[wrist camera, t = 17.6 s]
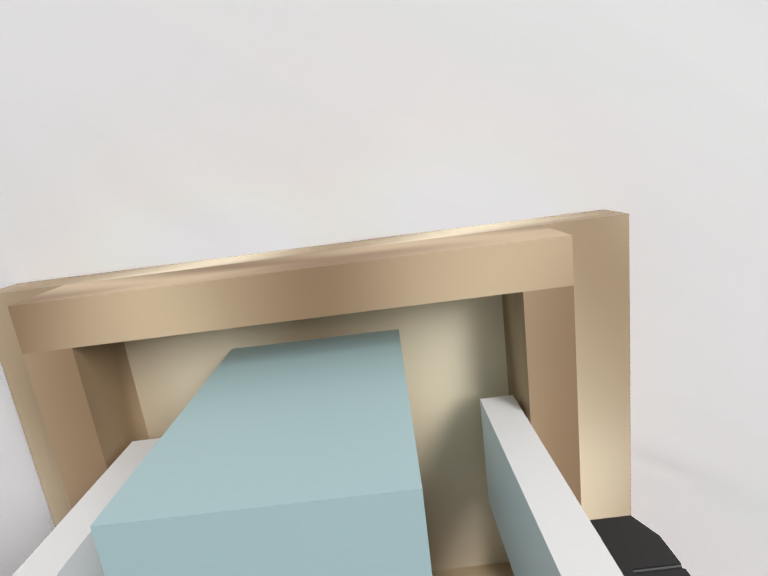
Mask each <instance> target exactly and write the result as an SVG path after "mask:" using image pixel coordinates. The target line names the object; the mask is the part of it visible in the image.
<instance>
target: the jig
mask: <svg viewBox="0 0 768 576" xmlns="http://www.w3.org/2000/svg"><path fill="white" fill-rule="evenodd" d="M396 329H399V335H400V342H401V348H402V355H403V362H404V368H405V375H406V382H407V389H408V395H409V402H410V409H411V415H412V422H413V429H414V436H415V442H416V449H417V456H418V462H419V469H420V476H421V483H422V490H423V498H424V507H425V516H426V525H427V534H428V542H429V551H430V560H431V569H432V576H514V573H513V571H512V568H511V565H510V562H509V559H508V556H507V553H506V550H505V547H504V544H503V541H502V539H501V536H500V533H499V530H498V527H497V524H496V521H495V518H494V515H493V512H492V509H491V507H490V504H489V499H488V487H487V475H486V464H485V452H484V440H483V428H482V417H481V405H480V399H483V398H492V397H500V396H508V395H513V396H514V398H515V399H516V401H517V403H518V404H519V406H520V407H521V409H522V411H523V412H524V414H525V416H526V417H527V419H528V421H529V422H530V424H531V425H532V427H533V429H534V430H535V432H536V434H537V435H538V437H539V438H540V440H541V442H542V443H543V445H544V447H545V448H546V450H547V451H548V453H549V455H550V456H551V458H552V460H553V461H554V463H555V465H556V466H557V468H558V469H559V471H560V473H561V474H562V476H563V478H564V479H565V481H566V482H567V484H568V486H569V487H570V489H571V491H572V492H573V494H574V495H575V497H576V499H577V500H578V502H579V504H580V505H581V507H582V509H583V510H584V512H585V513H586V515H587V517H588V518H589V520H594V519H602V518H611V517H619V516H628V515H631V451H630V296H629V214H627V213H621V212H615V211H610V210H598V211H590V212H583V213H575V214H567V215H559V216H551V217H543V218H535V219H527V220H519V221H511V222H503V223H495V224H488V225H480V226H472V227H464V228H456V229H448V230H440V231H432V232H424V233H416V234H408V235H400V236H393V237H385V238H377V239H369V240H361V241H353V242H345V243H337V244H329V245H321V246H313V247H305V248H298V249H290V250H282V251H274V252H266V253H258V254H250V255H242V256H234V257H226V258H218V259H210V260H202V261H195V262H187V263H179V264H171V265H163V266H155V267H147V268H139V269H131V270H123V271H115V272H107V273H100V274H92V275H84V276H76V277H68V278H60V279H52V280H44V281H36V282H28V283H20V284H15V285H11V286H8V287H5V288H2V289H0V361H1V365H2V368H3V371H4V374H5V377H6V380H7V383H8V386H9V389H10V392H11V395H12V398H13V401H14V404H15V407H16V410H17V413H18V416H19V419H20V422H21V425H22V428H23V431H24V434H25V437H26V440H27V443H28V446H29V449H30V452H31V455H32V459H33V462H34V465H35V468H36V471H37V474H38V477H39V480H40V483H41V486H42V489H43V492H44V495H45V498H46V501H47V504H48V507H49V510H50V513H51V516H52V519H53V522H54V525H55V527H56V526H57V525H58V524H59V523H60V522H61V521H62V519H63V518H64V517H65V516H66V515H67V514H68V513H69V512H70V511H71V509H72V508H73V507H74V506H75V505H76V504H77V503H78V502H79V500H80V499H81V498H82V497H83V496H84V495H85V494H86V493H87V492H88V490H89V489H90V488H91V487H92V486H93V485H94V484H95V483H96V481H97V480H98V479H99V478H100V477H101V476H102V475H103V474H104V473H105V471H106V470H107V469H108V468H109V467H110V466H111V465H112V464H113V462H114V461H115V460H116V459H117V458H118V457H119V456H120V455H121V454H122V452H123V451H124V450H125V449H126V448H127V447H128V446H129V445H130V444H131V442H132V441H140V440H148V439H156V438H161V437H162V436H163V435H164V433H165V432H166V431H167V430H168V428H169V427H170V426H171V425H172V423H173V422H174V421H175V420H176V418H177V417H178V416H179V415H180V413H181V412H182V411H183V410H184V408H185V407H186V406H187V405H188V403H189V402H190V401H191V400H192V398H193V397H194V396H195V395H196V393H197V392H198V391H199V390H200V388H201V387H202V386H203V385H204V383H205V382H206V381H207V380H208V378H209V377H210V376H211V375H212V373H213V372H214V371H215V370H216V368H217V367H218V366H219V365H220V363H221V362H222V361H223V360H224V358H225V357H226V356H227V355H228V353H229V352H230V351H231V350H232V349H235V348H243V347H251V346H260V345H268V344H277V343H285V342H294V341H302V340H311V339H319V338H328V337H336V336H345V335H353V334H362V333H370V332H379V331H387V330H396Z"/></svg>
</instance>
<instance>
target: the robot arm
mask: <svg viewBox="0 0 768 576" xmlns="http://www.w3.org/2000/svg"><path fill="white" fill-rule="evenodd" d="M480 405H481V417H482V428H483V440H484V452H485V464H486V475H487V487H488V499H489V504H490V507H491V509H492V512H493V515H494V518H495V521H496V524H497V527H498V530H499V533H500V536H501V539H502V541H503V544H504V547H505V550H506V553H507V556H508V559H509V562H510V565H511V568H512V571H513V573H514V576H690V574H689V573H688V572H687V570H686V569H683V568H682V566H681V563H680V561H679V560H678V559H677V558H676V556H675V555H674V554H673V553H672V551H671V550H670V549H669V547H668V546H667V545H666V544H665V542H664V541H663V540H662V538H661V537H660V536H659V535H658V534H656V533H655V532H653V531H652V530H650V529H649V528H648V527H646V526H645V525H643V524H642V523H640V522H639V521H638V520H636V519H635V518H633V517H632V516H631V515H628V516H619V517H611V518H602V519H594V520H589V518H588V517H587V515H586V513H585V512H584V510H583V509H582V507H581V505H580V504H579V502H578V500H577V499H576V497H575V495H574V494H573V492H572V491H571V489H570V487H569V486H568V484H567V482H566V481H565V479H564V478H563V476H562V474H561V473H560V471H559V469H558V468H557V466H556V465H555V463H554V461H553V460H552V458H551V456H550V455H549V453H548V451H547V450H546V448H545V447H544V445H543V443H542V442H541V440H540V438H539V437H538V435H537V434H536V432H535V430H534V429H533V427H532V425H531V424H530V422H529V421H528V419H527V417H526V416H525V414H524V412H523V411H522V409H521V407H520V406H519V404H518V403H517V401H516V399H515V398H514V396H513V395H508V396H500V397H492V398H483V399H480ZM159 440H160V438H156V439H148V440H140V441H132V442H131V444H130V445H129V446H128V447H127V448H126V449H125V450H124V451H123V452H122V454H121V455H120V456H119V457H118V458H117V459H116V460H115V461H114V462H113V464H112V465H111V466H110V467H109V468H108V469H107V470H106V471H105V473H104V474H103V475H102V476H101V477H100V478H99V479H98V480H97V481H96V483H95V484H94V485H93V486H92V487H91V488H90V489H89V490H88V492H87V493H86V494H85V495H84V496H83V497H82V498H81V499H80V500H79V502H78V503H77V504H76V505H75V506H74V507H73V508H72V509H71V511H70V512H69V513H68V514H67V515H66V516H65V517H64V518H63V519H62V521H61V522H60V523H59V524H58V525H57V526H56V527H55V528H54V530H53V531H52V532H51V533H50V534H49V535H48V536H47V537H46V538H45V540H44V541H43V542H42V543H41V544H40V545H39V546H38V547H37V549H36V550H35V551H34V552H33V553H32V554H31V555H30V556H29V557H28V559H27V560H26V561H25V562H24V563H23V564H22V565H21V566H20V568H19V569H18V570H17V571H16V572H15V573H14V574H13V575H12V576H105V575H104V572H103V568H102V565H101V562H100V558H99V555H98V552H97V548H96V545H95V542H94V539H93V535H92V532H91V529H90V526H91V524H92V523H93V522H94V521H95V519H96V518H97V517H98V516H99V514H100V513H101V512H102V511H103V509H104V508H105V507H106V506H107V504H108V503H109V502H110V501H111V499H112V498H113V497H114V496H115V494H116V493H117V492H118V491H119V489H120V488H121V487H122V486H123V484H124V483H125V482H126V481H127V479H128V478H129V477H130V476H131V474H132V473H133V472H134V471H135V469H136V468H137V467H138V466H139V464H140V463H141V462H142V461H143V459H144V458H145V457H146V456H147V455H148V453H149V452H150V451H151V450H152V448H153V447H154V446H155V445H156V443H157V442H158V441H159Z"/></svg>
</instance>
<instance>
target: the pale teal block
mask: <svg viewBox="0 0 768 576" xmlns="http://www.w3.org/2000/svg"><path fill="white" fill-rule="evenodd" d="M90 529H91V532H92V535H93V539H94V542H95V545H96V548H97V552H98V555H99V558H100V562H101V565H102V568H103V572H104V575H105V576H432V569H431V560H430V551H429V542H428V534H427V525H426V516H425V507H424V498H423V490H422V483H421V476H420V469H419V462H418V456H417V449H416V442H415V436H414V429H413V422H412V415H411V409H410V402H409V395H408V389H407V382H406V375H405V368H404V362H403V355H402V348H401V342H400V335H399V329H396V330H387V331H379V332H370V333H362V334H353V335H345V336H336V337H328V338H319V339H311V340H302V341H294V342H285V343H277V344H268V345H260V346H251V347H243V348H235V349H232V350H231V351H230V352H229V353H228V355H227V356H226V357H225V358H224V360H223V361H222V362H221V363H220V365H219V366H218V367H217V368H216V370H215V371H214V372H213V373H212V375H211V376H210V377H209V378H208V380H207V381H206V382H205V383H204V385H203V386H202V387H201V388H200V390H199V391H198V392H197V393H196V395H195V396H194V397H193V398H192V400H191V401H190V402H189V403H188V405H187V406H186V407H185V408H184V410H183V411H182V412H181V413H180V415H179V416H178V417H177V418H176V420H175V421H174V422H173V423H172V425H171V426H170V427H169V428H168V430H167V431H166V432H165V433H164V435H163V436H162V437H161V438H160V440H159V441H158V442H157V443H156V445H155V446H154V447H153V448H152V450H151V451H150V452H149V453H148V455H147V456H146V457H145V458H144V459H143V461H142V462H141V463H140V464H139V466H138V467H137V468H136V469H135V471H134V472H133V473H132V474H131V476H130V477H129V478H128V479H127V481H126V482H125V483H124V484H123V486H122V487H121V488H120V489H119V491H118V492H117V493H116V494H115V496H114V497H113V498H112V499H111V501H110V502H109V503H108V504H107V506H106V507H105V508H104V509H103V511H102V512H101V513H100V514H99V516H98V517H97V518H96V519H95V521H94V522H93V523H92V524H91V526H90Z"/></svg>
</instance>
